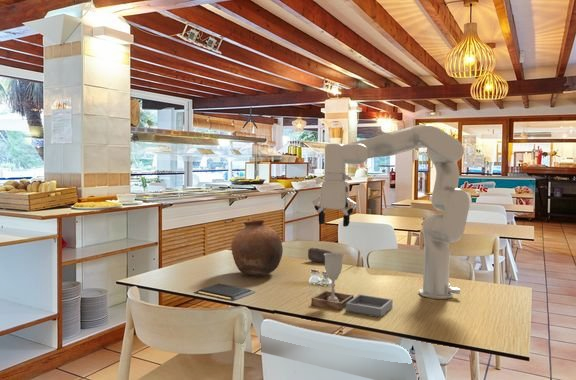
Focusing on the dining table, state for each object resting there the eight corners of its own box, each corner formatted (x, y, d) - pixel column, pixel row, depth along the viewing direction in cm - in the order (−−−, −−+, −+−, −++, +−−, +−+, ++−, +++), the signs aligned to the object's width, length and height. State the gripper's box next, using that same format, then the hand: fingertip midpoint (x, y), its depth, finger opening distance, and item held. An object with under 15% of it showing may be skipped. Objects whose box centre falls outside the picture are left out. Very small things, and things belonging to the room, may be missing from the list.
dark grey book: (256, 289, 188) (231, 298, 176) (256, 294, 188) (231, 303, 176) (218, 281, 199) (192, 289, 187) (218, 285, 199) (192, 294, 187)
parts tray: (392, 307, 171) (392, 299, 170) (381, 318, 160) (381, 309, 159) (358, 302, 177) (359, 294, 177) (345, 311, 166) (346, 303, 166)
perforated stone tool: (338, 263, 241) (338, 249, 241) (334, 265, 237) (334, 251, 236) (311, 260, 249) (311, 246, 248) (307, 261, 244) (307, 248, 244)
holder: (353, 301, 177) (353, 295, 177) (341, 310, 167) (341, 303, 167) (324, 297, 183) (325, 290, 183) (311, 305, 173) (311, 298, 173)
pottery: (281, 281, 205) (282, 223, 204) (227, 280, 206) (227, 222, 204) (283, 268, 228) (283, 216, 226) (234, 268, 229) (234, 215, 227)
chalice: (319, 304, 174) (320, 255, 172) (327, 299, 180) (327, 252, 178) (338, 307, 170) (339, 257, 169) (345, 302, 176) (346, 254, 175)
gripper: (361, 178, 172) (359, 225, 173) (318, 176, 181) (317, 221, 182) (352, 179, 166) (351, 228, 167) (308, 177, 175) (307, 224, 176)
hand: (333, 224), depth 175 cm, fingers open, 9 cm apart
